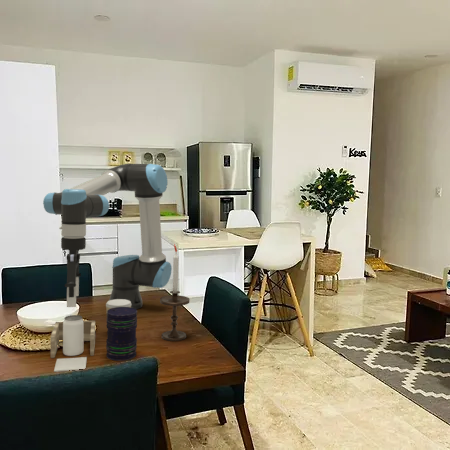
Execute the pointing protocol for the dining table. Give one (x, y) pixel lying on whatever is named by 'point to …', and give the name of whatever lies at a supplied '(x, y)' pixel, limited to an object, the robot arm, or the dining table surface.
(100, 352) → the dining table surface
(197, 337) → the dining table surface
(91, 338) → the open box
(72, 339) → the can
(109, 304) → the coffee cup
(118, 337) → the storage jar
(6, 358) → the dining table surface
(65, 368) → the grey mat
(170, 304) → the candlestick
